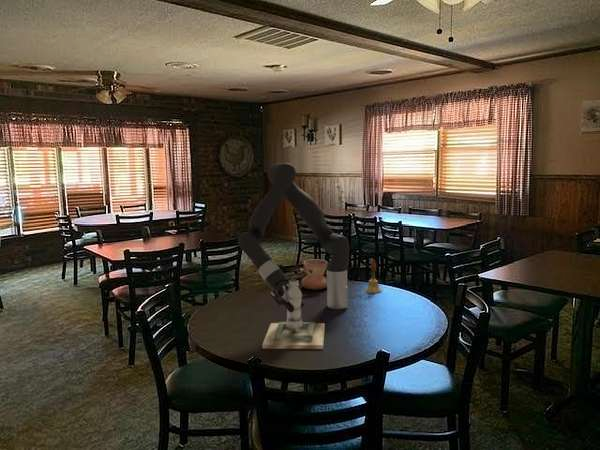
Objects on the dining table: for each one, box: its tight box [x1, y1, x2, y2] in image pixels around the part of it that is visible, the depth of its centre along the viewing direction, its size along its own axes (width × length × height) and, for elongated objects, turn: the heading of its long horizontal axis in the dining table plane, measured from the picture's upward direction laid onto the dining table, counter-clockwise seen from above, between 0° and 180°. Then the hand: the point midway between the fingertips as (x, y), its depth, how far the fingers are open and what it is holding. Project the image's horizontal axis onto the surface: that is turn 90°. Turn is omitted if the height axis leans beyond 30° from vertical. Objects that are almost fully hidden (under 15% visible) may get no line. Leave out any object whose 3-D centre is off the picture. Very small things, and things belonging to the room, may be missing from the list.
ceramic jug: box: [299, 258, 328, 291], centre depth 247 cm, size 18×14×14 cm
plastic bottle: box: [285, 279, 304, 333], centre depth 180 cm, size 6×7×20 cm
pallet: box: [261, 321, 326, 350], centre depth 182 cm, size 22×22×4 cm
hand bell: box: [364, 259, 383, 294], centre depth 238 cm, size 8×8×16 cm
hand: (297, 308), depth 180 cm, fingers closed on plastic bottle, 6 cm apart
